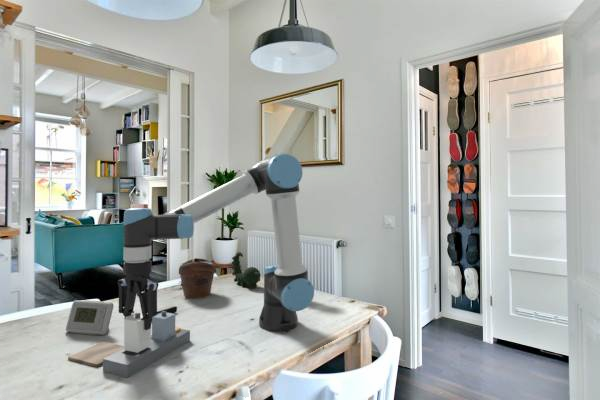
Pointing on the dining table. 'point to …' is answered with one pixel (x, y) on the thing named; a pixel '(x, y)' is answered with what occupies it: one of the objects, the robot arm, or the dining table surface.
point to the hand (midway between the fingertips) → (137, 338)
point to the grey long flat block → (143, 355)
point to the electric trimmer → (168, 310)
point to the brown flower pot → (197, 277)
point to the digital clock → (89, 317)
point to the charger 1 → (134, 334)
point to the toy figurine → (245, 273)
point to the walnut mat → (96, 353)
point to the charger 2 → (163, 326)
